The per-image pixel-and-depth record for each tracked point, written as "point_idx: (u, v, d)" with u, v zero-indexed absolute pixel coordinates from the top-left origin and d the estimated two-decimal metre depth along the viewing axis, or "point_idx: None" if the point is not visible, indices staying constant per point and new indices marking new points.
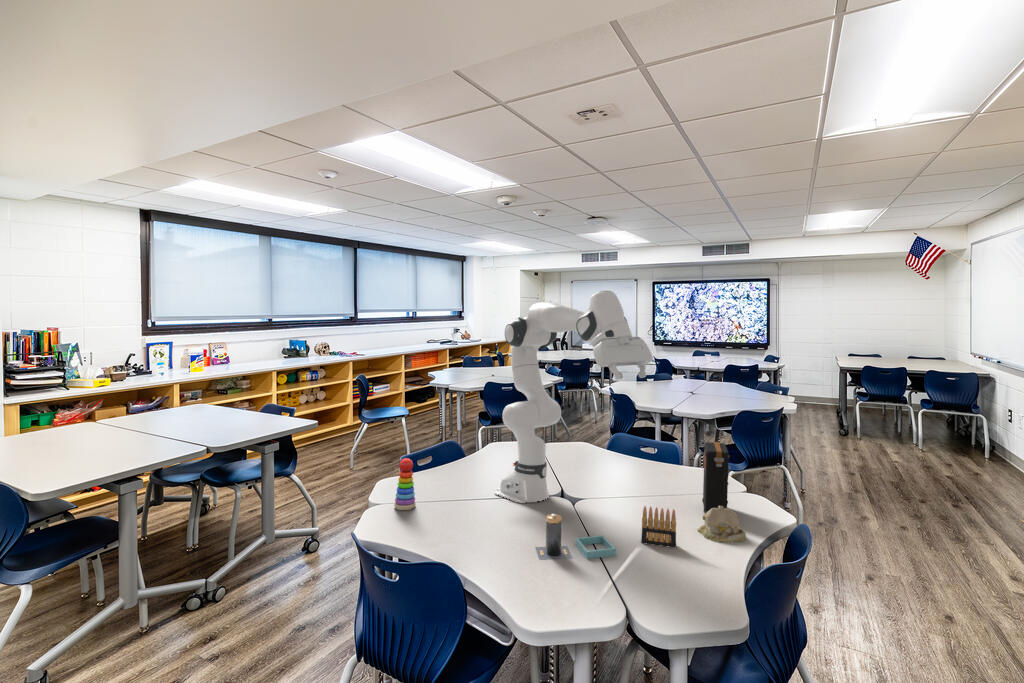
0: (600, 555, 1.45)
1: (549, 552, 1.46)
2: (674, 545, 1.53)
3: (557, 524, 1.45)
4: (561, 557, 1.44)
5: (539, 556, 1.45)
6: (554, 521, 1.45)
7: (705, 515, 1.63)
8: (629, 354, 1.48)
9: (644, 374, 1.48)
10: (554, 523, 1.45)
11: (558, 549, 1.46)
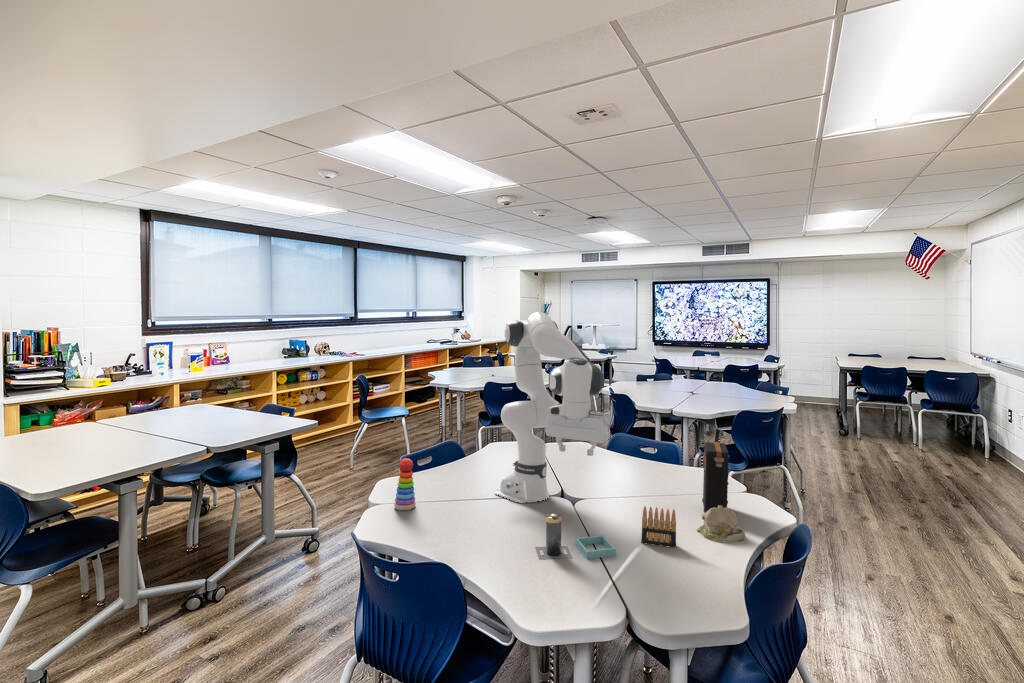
0: (600, 555, 1.45)
1: (549, 552, 1.46)
2: (674, 545, 1.53)
3: (557, 524, 1.45)
4: (561, 557, 1.44)
5: (539, 556, 1.45)
6: (554, 521, 1.45)
7: (704, 515, 1.63)
8: (576, 433, 1.51)
9: (589, 454, 1.50)
10: (554, 523, 1.45)
11: (558, 549, 1.46)
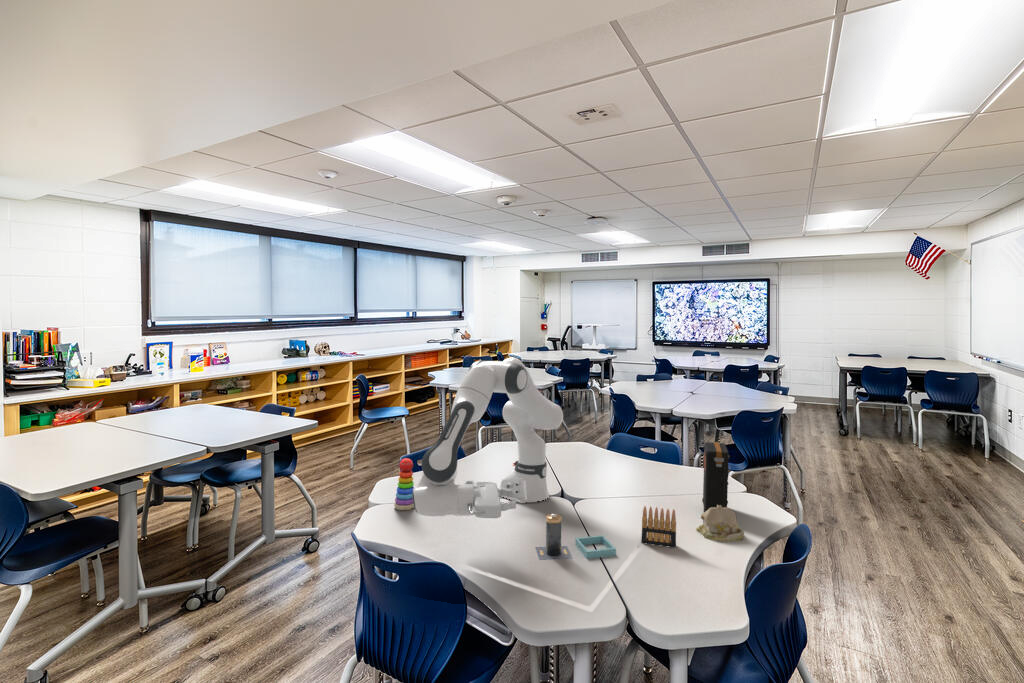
0: (600, 555, 1.45)
1: (549, 552, 1.46)
2: (674, 545, 1.53)
3: (557, 524, 1.45)
4: (561, 557, 1.44)
5: (539, 556, 1.45)
6: (554, 521, 1.45)
7: (704, 514, 1.63)
8: None
9: None
10: (554, 523, 1.45)
11: (558, 549, 1.46)
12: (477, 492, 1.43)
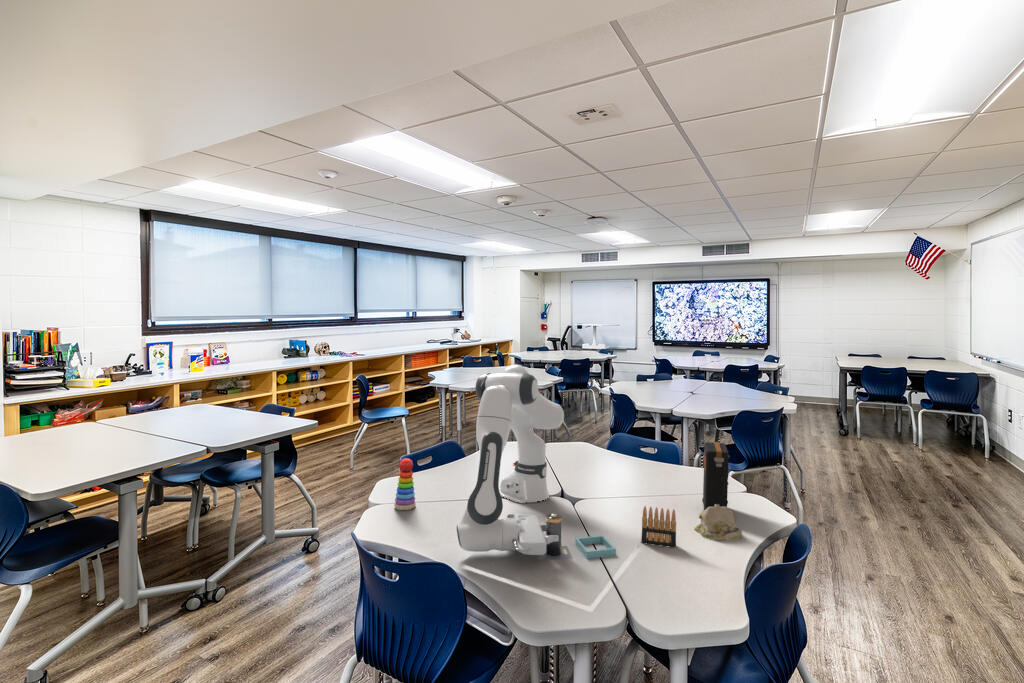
0: (600, 555, 1.45)
1: (549, 552, 1.46)
2: (674, 545, 1.53)
3: (557, 524, 1.45)
4: (561, 557, 1.44)
5: (539, 556, 1.45)
6: (554, 521, 1.45)
7: (702, 514, 1.64)
8: None
9: None
10: (554, 523, 1.45)
11: (558, 549, 1.46)
12: (520, 527, 1.45)
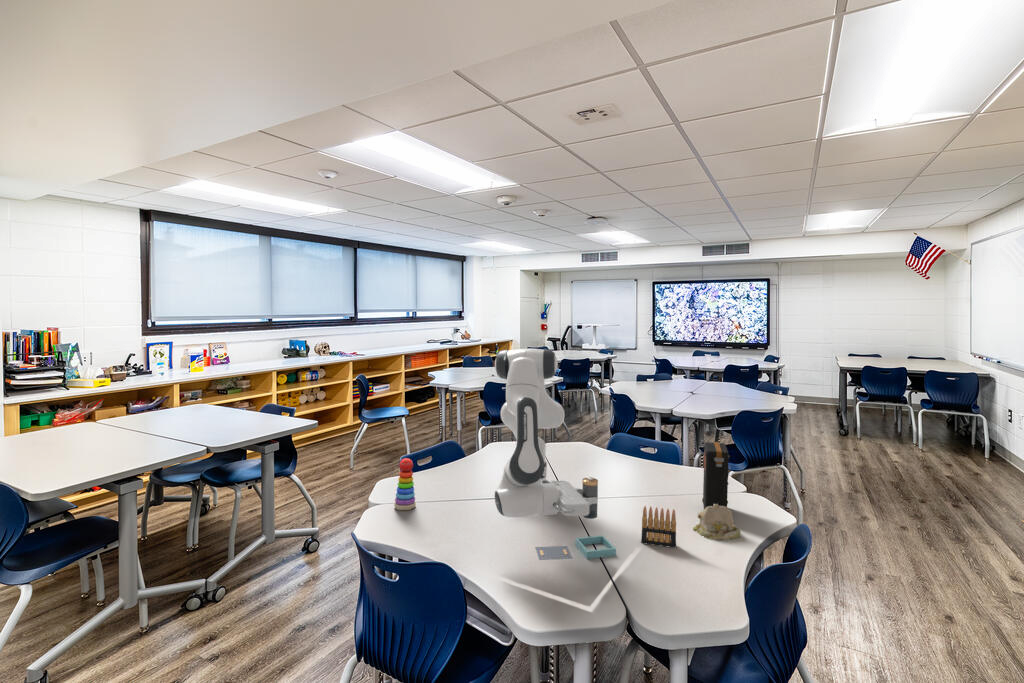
0: (600, 555, 1.45)
1: None
2: (674, 545, 1.53)
3: (594, 486, 1.46)
4: (561, 557, 1.44)
5: (539, 556, 1.45)
6: (592, 484, 1.46)
7: (701, 514, 1.64)
8: None
9: None
10: (592, 486, 1.46)
11: (595, 512, 1.47)
12: (559, 491, 1.45)
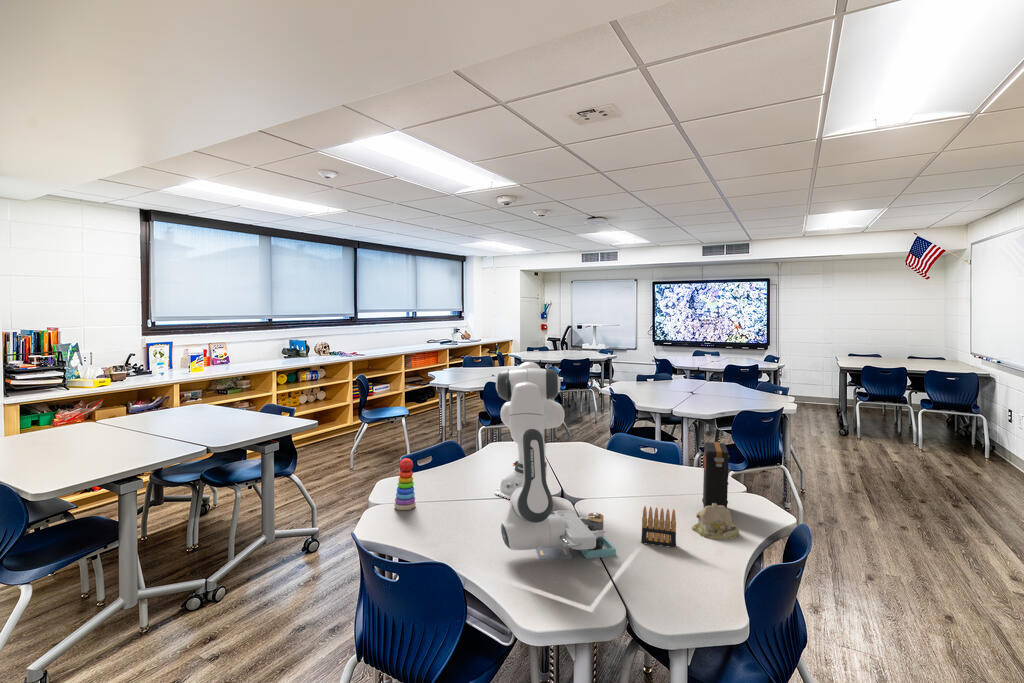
0: (600, 555, 1.45)
1: None
2: (674, 545, 1.53)
3: (600, 522, 1.47)
4: (561, 557, 1.44)
5: (539, 556, 1.45)
6: (598, 520, 1.47)
7: (700, 513, 1.64)
8: None
9: None
10: (598, 522, 1.47)
11: (601, 548, 1.48)
12: (565, 523, 1.45)
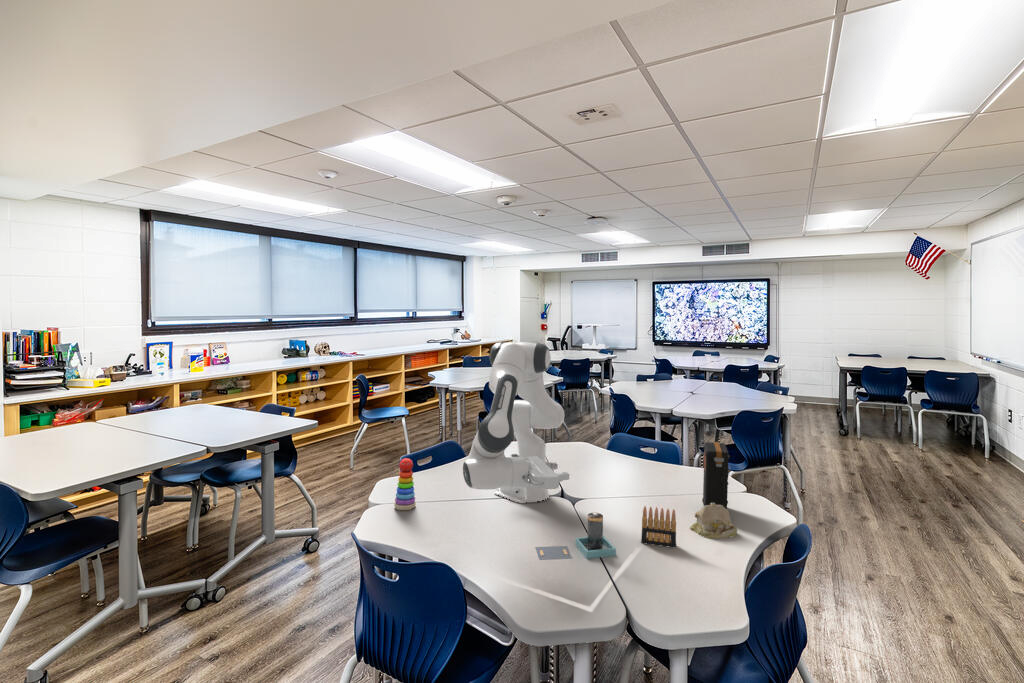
0: (600, 555, 1.45)
1: None
2: (674, 545, 1.53)
3: (600, 522, 1.47)
4: (561, 557, 1.44)
5: (539, 556, 1.45)
6: (597, 519, 1.47)
7: (698, 513, 1.64)
8: None
9: None
10: (597, 522, 1.47)
11: (601, 547, 1.48)
12: (529, 464, 1.42)
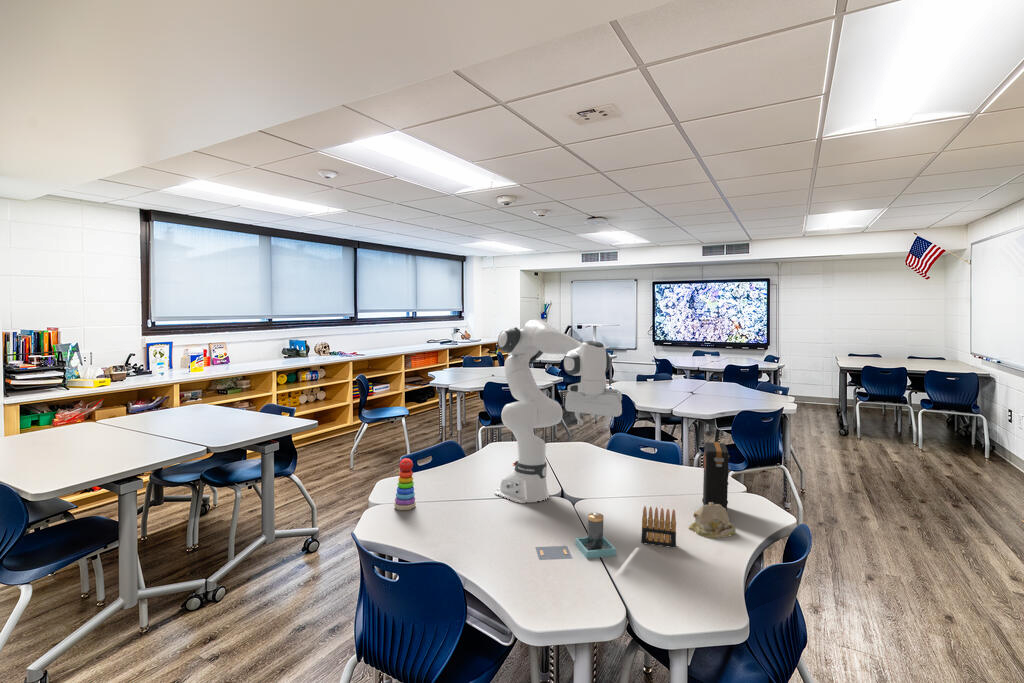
0: (600, 555, 1.45)
1: None
2: (674, 545, 1.53)
3: (600, 522, 1.47)
4: (561, 557, 1.44)
5: (539, 556, 1.45)
6: (598, 520, 1.47)
7: (697, 513, 1.65)
8: (592, 408, 1.69)
9: (604, 427, 1.68)
10: (598, 522, 1.47)
11: (601, 548, 1.48)
12: None
